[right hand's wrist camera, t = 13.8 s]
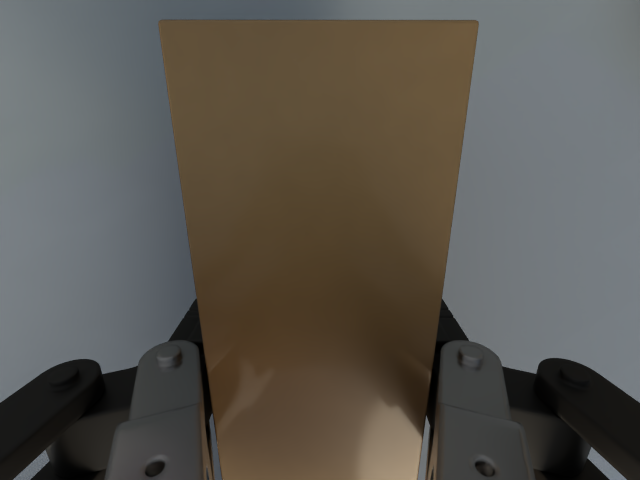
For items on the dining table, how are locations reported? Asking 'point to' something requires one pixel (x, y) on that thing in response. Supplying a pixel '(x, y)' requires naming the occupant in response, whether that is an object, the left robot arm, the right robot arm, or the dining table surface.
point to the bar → (319, 231)
